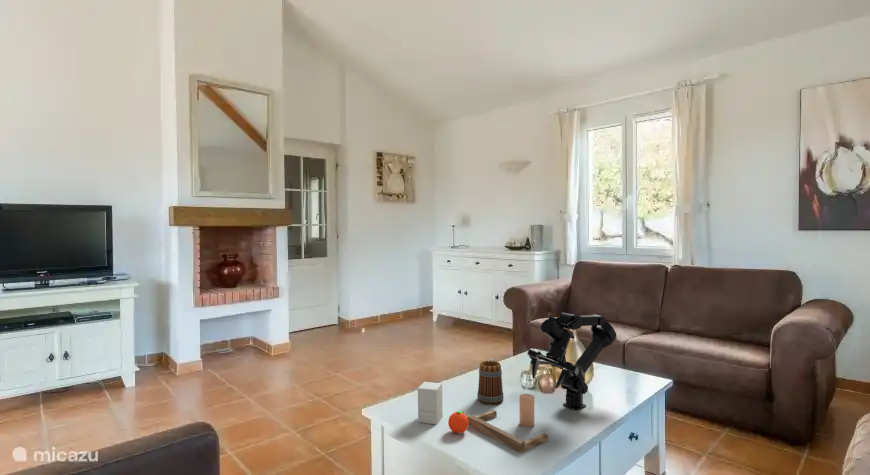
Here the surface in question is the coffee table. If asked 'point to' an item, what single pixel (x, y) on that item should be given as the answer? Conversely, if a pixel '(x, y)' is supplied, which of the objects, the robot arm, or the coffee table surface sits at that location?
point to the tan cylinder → (526, 410)
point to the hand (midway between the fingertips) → (544, 383)
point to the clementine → (458, 422)
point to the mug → (490, 383)
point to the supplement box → (430, 403)
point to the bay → (503, 432)
